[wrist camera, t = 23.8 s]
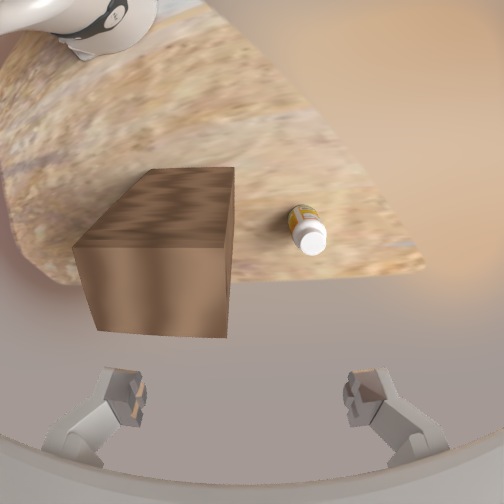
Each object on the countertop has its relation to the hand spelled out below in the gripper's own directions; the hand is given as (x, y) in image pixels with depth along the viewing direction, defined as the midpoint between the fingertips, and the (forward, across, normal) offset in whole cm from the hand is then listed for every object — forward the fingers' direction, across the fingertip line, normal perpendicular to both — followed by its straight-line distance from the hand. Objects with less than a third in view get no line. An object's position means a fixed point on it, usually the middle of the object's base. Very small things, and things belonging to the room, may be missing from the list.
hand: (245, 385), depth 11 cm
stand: (+43, +10, +10) cm, 45 cm away
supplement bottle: (+43, -10, +11) cm, 46 cm away
